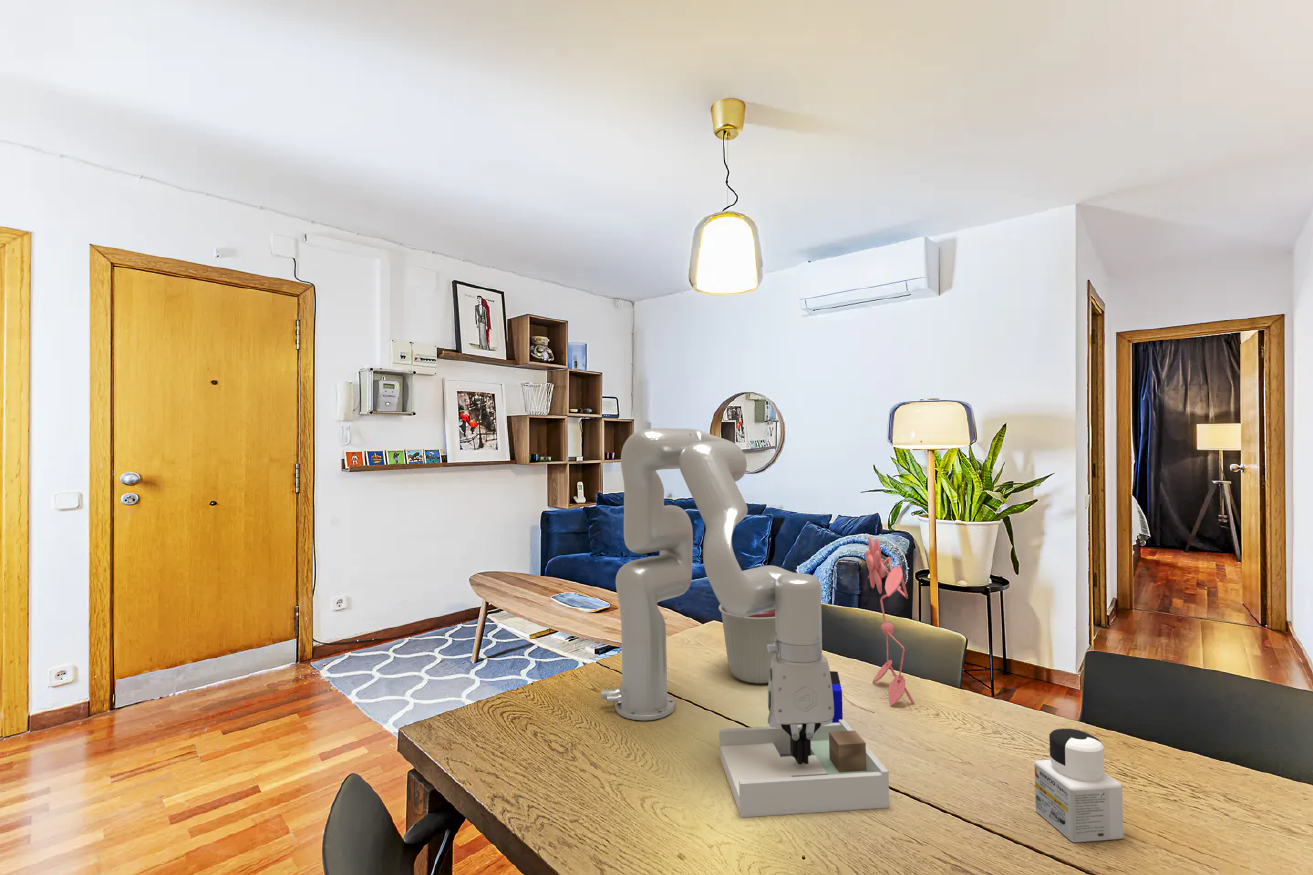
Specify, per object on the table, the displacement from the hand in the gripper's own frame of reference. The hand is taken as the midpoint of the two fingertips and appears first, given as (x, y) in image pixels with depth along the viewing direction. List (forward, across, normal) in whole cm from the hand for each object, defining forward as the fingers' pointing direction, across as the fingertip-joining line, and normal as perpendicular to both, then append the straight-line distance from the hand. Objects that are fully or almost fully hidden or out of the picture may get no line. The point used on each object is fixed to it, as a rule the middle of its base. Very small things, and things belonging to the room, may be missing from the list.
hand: (800, 759), depth 104 cm
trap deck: (+3, -1, 0) cm, 3 cm away
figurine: (+4, +27, +32) cm, 42 cm away
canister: (+4, +5, +46) cm, 46 cm away
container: (+3, +36, -17) cm, 40 cm away
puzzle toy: (+4, +8, +17) cm, 19 cm away
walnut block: (+1, +8, -1) cm, 8 cm away
